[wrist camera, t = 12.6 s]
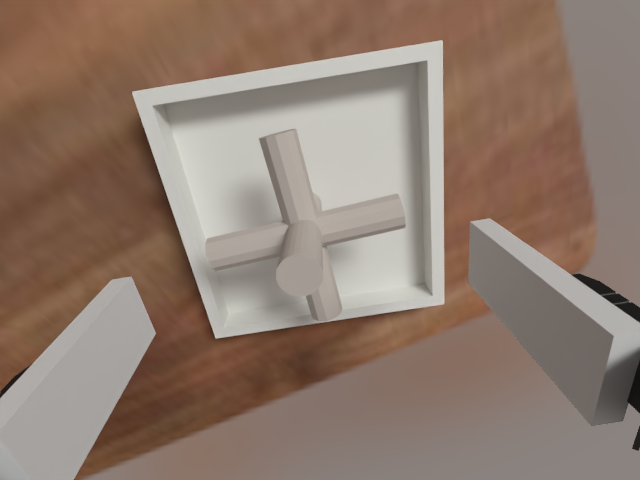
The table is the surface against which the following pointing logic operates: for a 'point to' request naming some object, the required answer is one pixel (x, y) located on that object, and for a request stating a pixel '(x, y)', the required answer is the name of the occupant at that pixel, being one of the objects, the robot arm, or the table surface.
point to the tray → (323, 171)
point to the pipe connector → (303, 230)
